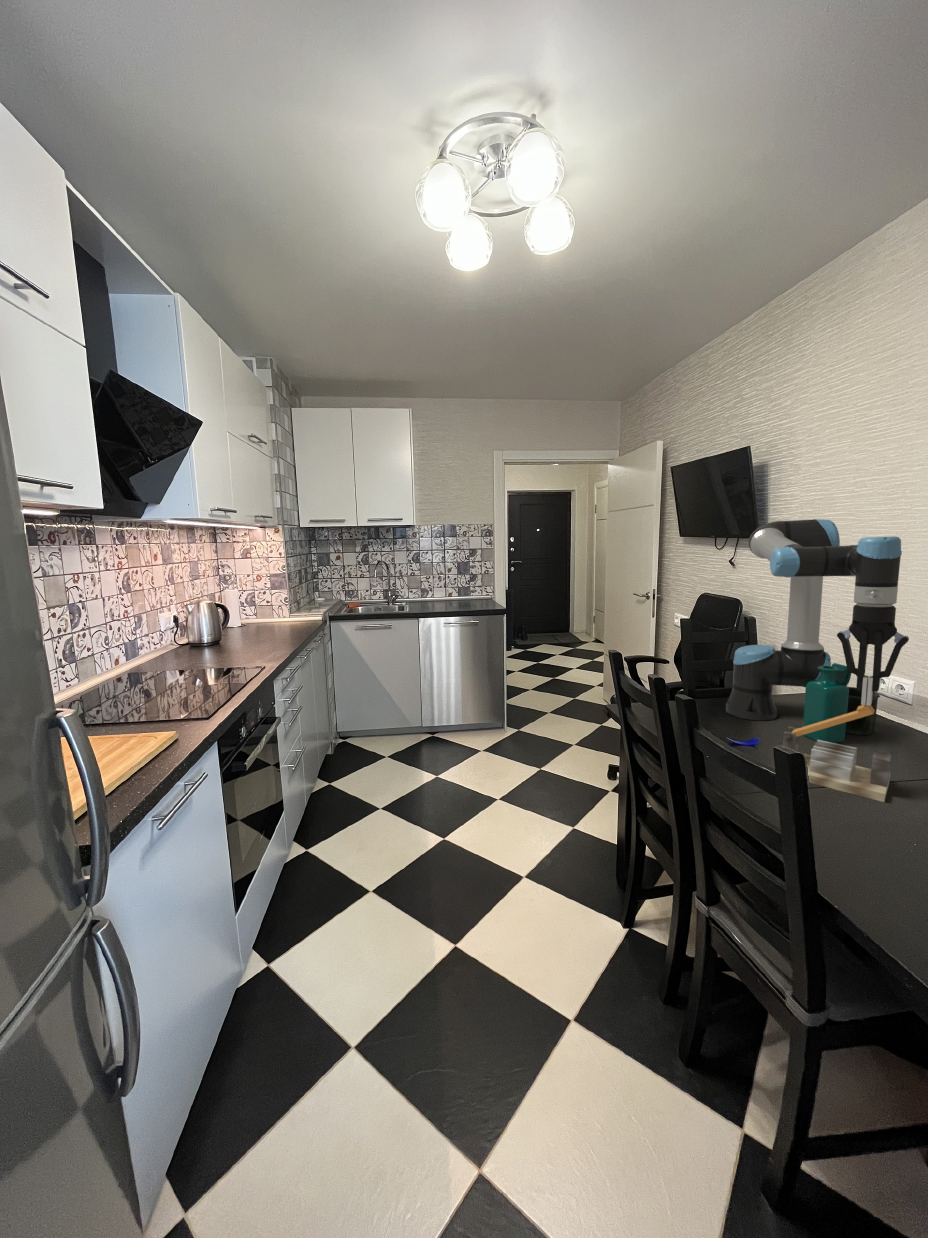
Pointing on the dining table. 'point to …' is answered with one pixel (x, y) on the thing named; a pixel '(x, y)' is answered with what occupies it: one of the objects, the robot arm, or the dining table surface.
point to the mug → (865, 723)
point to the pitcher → (827, 702)
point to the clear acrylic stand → (844, 768)
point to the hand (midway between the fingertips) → (866, 703)
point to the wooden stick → (836, 720)
